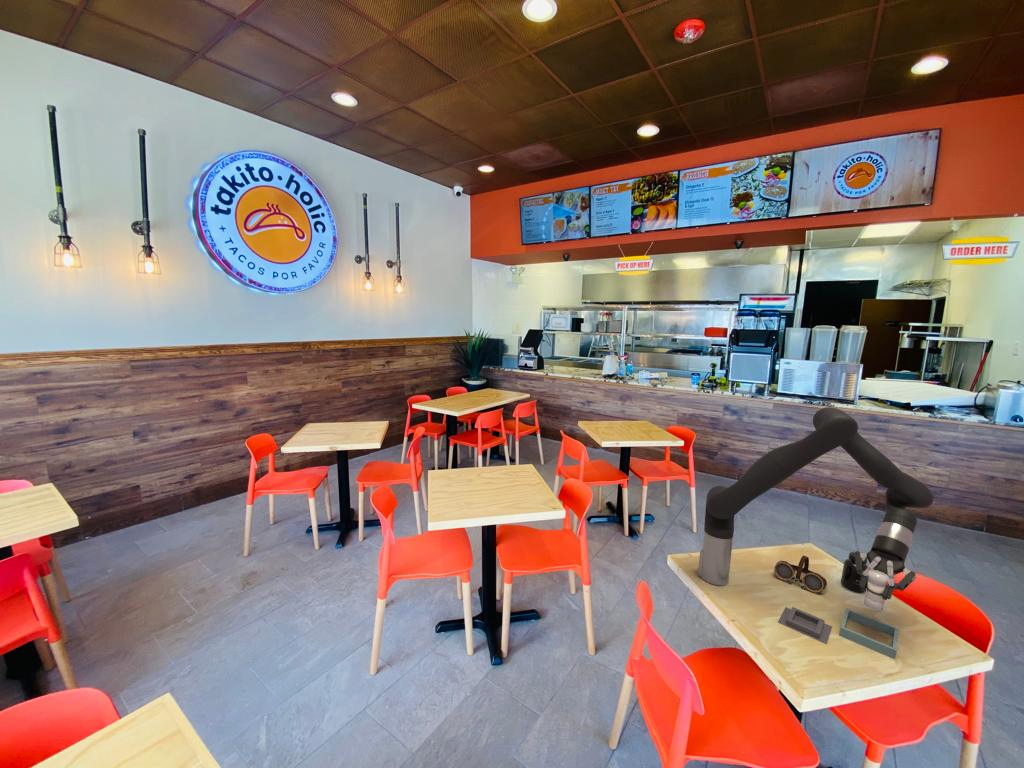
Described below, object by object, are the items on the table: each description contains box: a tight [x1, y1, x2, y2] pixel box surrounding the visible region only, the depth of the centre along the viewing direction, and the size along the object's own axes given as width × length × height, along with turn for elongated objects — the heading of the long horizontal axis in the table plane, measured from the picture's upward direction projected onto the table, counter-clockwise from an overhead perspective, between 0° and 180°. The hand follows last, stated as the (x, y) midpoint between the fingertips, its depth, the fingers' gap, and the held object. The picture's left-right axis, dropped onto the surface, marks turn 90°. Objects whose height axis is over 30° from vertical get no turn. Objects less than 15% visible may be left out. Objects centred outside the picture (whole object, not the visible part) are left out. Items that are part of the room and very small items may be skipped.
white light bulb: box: [863, 570, 888, 612], centre depth 119 cm, size 4×4×10 cm
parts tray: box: [839, 608, 900, 660], centre depth 121 cm, size 12×12×4 cm
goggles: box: [773, 555, 828, 593], centre depth 148 cm, size 15×13×10 cm
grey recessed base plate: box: [777, 606, 833, 645], centre depth 125 cm, size 12×10×2 cm
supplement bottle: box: [840, 551, 869, 594], centre depth 144 cm, size 7×7×12 cm
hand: (873, 594), depth 118 cm, fingers closed on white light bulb, 4 cm apart
